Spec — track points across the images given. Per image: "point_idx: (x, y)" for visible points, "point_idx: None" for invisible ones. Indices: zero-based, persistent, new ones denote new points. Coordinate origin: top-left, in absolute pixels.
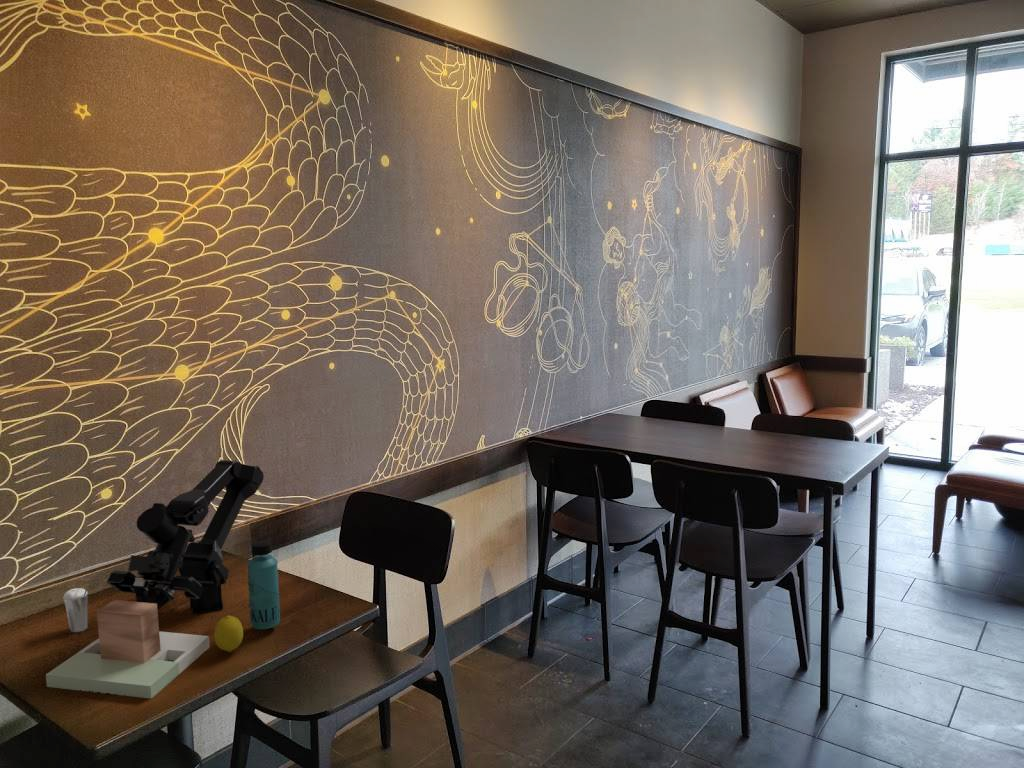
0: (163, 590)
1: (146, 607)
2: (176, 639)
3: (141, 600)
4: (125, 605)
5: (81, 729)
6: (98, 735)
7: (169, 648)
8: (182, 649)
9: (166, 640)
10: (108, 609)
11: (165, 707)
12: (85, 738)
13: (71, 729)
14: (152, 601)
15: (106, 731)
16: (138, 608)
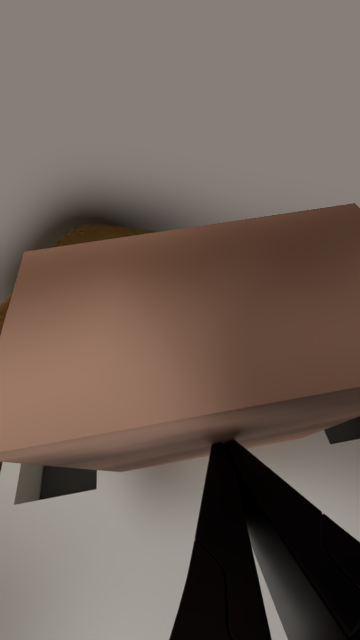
0: None
1: (42, 346)
2: (113, 605)
3: (338, 596)
4: (261, 310)
5: (119, 235)
6: (82, 235)
7: (95, 501)
8: (35, 515)
9: (155, 571)
10: (311, 233)
11: (6, 311)
12: (97, 226)
13: (134, 231)
14: (173, 635)
15: (76, 243)
16: (105, 312)
